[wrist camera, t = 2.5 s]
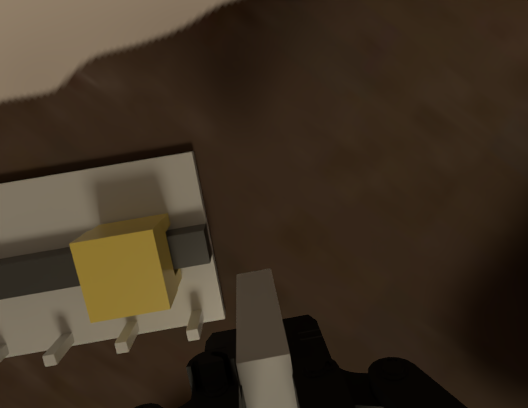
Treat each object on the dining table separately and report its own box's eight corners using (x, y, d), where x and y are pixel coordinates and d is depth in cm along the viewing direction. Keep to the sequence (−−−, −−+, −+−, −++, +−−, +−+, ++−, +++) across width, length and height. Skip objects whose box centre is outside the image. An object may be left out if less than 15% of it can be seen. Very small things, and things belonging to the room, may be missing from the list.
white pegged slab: (193, 150, 29) (184, 155, 25) (225, 312, 32) (222, 343, 27) (-137, 206, 29) (-207, 221, 24) (-77, 366, 31) (-130, 406, 27)
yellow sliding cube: (167, 211, 29) (152, 229, 24) (182, 278, 30) (170, 309, 25) (98, 223, 29) (69, 243, 24) (115, 290, 30) (90, 323, 25)
